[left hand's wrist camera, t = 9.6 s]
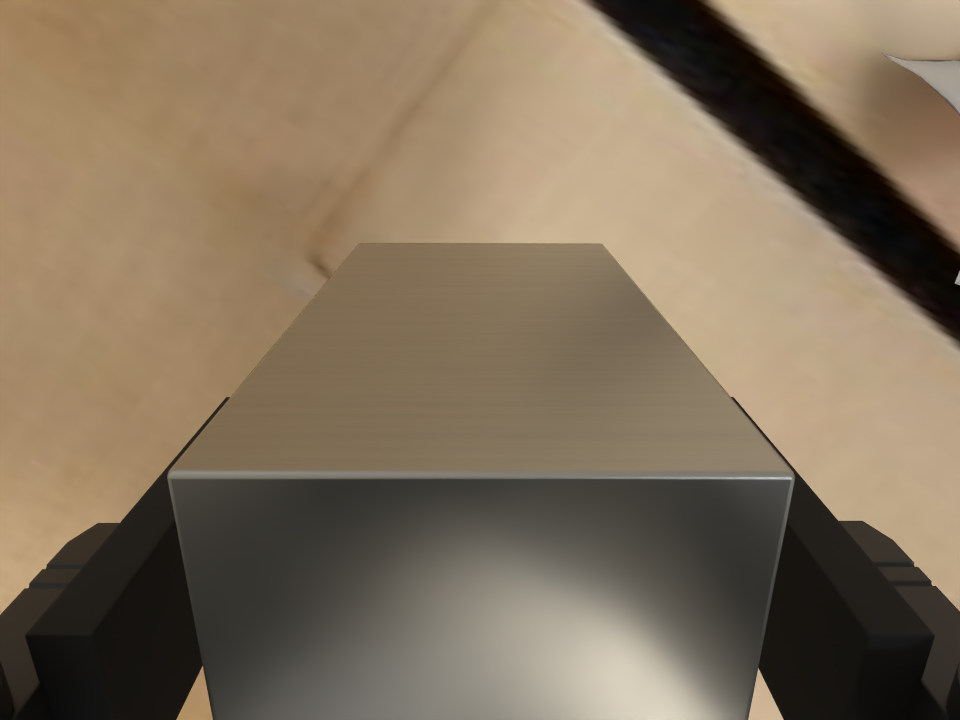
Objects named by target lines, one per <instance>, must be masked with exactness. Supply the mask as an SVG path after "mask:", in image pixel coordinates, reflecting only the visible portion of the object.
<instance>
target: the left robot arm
mask: <svg viewBox="0 0 960 720" xmlns="http://www.w3.org/2000/svg"><path fill="white" fill-rule="evenodd" d="M229 398H230V397H226V398H225V400H224V401H223V402H222V403H221V404H220V405H219V407H218V408H217V409H216V410H215V411H214V413H213V414H212V415H211V416H210V417H209V418H208V420H207V421H206V422H205V423H204V424H203V426H202V427H201V428H200V429H199V430H198V431H197V433H196V434H195V435H194V436H193V437H192V439H191V440H190V441H189V442H188V443H187V444H186V446H185V447H184V448H183V449H182V450H181V452H180V453H179V454H178V455H177V456H176V457H175V459H174V460H173V461H172V462H171V463H170V465H169V466H168V467H167V468H166V469H165V470H164V472H163V473H162V474H161V475H160V476H159V478H158V479H157V480H156V481H155V482H154V483H153V485H152V486H151V487H150V488H149V489H148V491H147V492H146V493H145V494H144V495H143V496H142V498H141V499H140V500H139V501H138V502H137V504H136V505H135V506H134V507H133V508H132V509H131V511H130V512H129V513H128V514H127V515H126V517H125V518H124V519H123V520H122V521H121V522H120V523H97V524H96V525H94V526H93V527H91V528H89V529H88V530H86V531H85V532H83V533H82V534H80V535H78V536H77V537H75V538H74V539H72V540H71V541H69V542H67V544H66V545H65V546H64V547H63V548H62V549H61V550H60V551H59V552H58V553H57V554H56V555H55V556H54V558H53V559H52V560H51V561H50V562H49V563H48V564H47V568H46V569H42V570H41V572H40V573H39V574H38V575H37V576H36V577H35V578H34V579H33V580H32V581H31V582H30V583H29V588H25V589H24V590H23V591H22V592H21V593H20V594H19V595H18V596H17V597H16V599H15V600H14V601H13V602H12V603H11V604H10V605H9V606H8V607H7V608H6V609H5V610H4V611H3V613H2V614H1V615H0V720H176V719H177V717H178V715H179V713H180V711H181V709H182V707H183V705H184V703H185V701H186V698H187V696H188V694H189V692H190V690H191V688H192V686H193V684H194V682H195V680H196V678H197V676H198V674H199V672H200V670H201V668H202V666H203V664H202V658H201V653H200V648H199V642H198V637H197V632H196V627H195V621H194V616H193V611H192V606H191V600H190V595H189V590H188V584H187V579H186V574H185V569H184V563H183V558H182V553H181V547H180V542H179V537H178V532H177V526H176V521H175V516H174V510H173V505H172V500H171V495H170V489H169V484H168V479H167V477H168V472H169V470H170V469H171V468H172V467H173V465H174V464H175V463H176V462H177V461H178V459H179V458H180V457H181V456H182V455H183V453H184V452H185V451H186V450H187V449H188V447H189V446H190V445H191V444H192V443H193V441H194V440H195V439H196V438H197V437H198V435H199V434H200V433H201V432H202V431H203V429H204V428H205V427H206V426H207V425H208V423H209V422H210V421H211V420H212V419H213V417H214V416H215V415H216V414H217V413H218V411H219V410H220V409H221V408H222V407H223V406H224V404H225V403H226V402H227V401H228V400H229ZM731 398H732V399H733V400H734V402H735V403H736V404H737V405H738V406H739V408H740V409H741V410H742V411H743V412H744V414H745V415H746V416H747V417H748V418H749V420H750V421H751V422H752V423H753V424H754V426H755V427H756V428H757V429H758V430H759V431H760V433H761V434H762V435H763V436H764V437H765V439H766V440H767V441H768V442H769V443H770V445H771V446H772V447H773V448H774V449H775V451H776V452H777V453H778V454H779V455H780V456H781V458H782V459H783V460H784V461H785V462H786V464H787V465H788V466H789V467H790V468H791V470H792V471H793V472H794V476H795V481H794V486H793V491H792V496H791V501H790V507H789V512H788V517H787V522H786V527H785V532H784V537H783V543H782V548H781V553H780V558H779V563H778V568H777V573H776V578H775V584H774V589H773V594H772V599H771V604H770V609H769V614H768V620H767V625H766V630H765V635H764V640H763V645H762V650H761V656H760V661H759V666H758V668H759V670H760V672H761V674H762V676H763V678H764V680H765V682H766V684H767V686H768V688H769V690H770V692H771V694H772V696H773V698H774V701H775V703H776V705H777V707H778V709H779V711H780V713H781V715H782V717H783V719H784V720H960V611H959V610H958V609H957V608H956V607H955V606H954V605H953V604H952V603H951V602H950V601H949V600H948V599H947V598H946V596H945V595H944V594H943V593H942V592H941V591H940V590H939V589H938V588H937V587H936V586H932V584H931V580H930V579H929V578H928V577H927V576H926V575H925V574H924V573H923V572H922V571H921V570H920V569H919V568H918V567H914V562H913V561H912V560H911V559H910V558H909V557H908V556H907V555H906V554H905V553H904V551H903V550H902V549H901V548H900V547H899V546H898V545H897V544H896V543H895V542H894V541H893V540H892V539H890V538H889V537H887V536H886V535H884V534H882V533H881V532H879V531H878V530H876V529H874V528H873V527H871V526H870V525H868V524H866V523H865V522H863V521H838V520H837V519H836V518H835V517H834V515H833V514H832V513H831V512H830V511H829V509H828V508H827V507H826V506H825V505H824V504H823V502H822V501H821V500H820V499H819V498H818V496H817V495H816V494H815V493H814V492H813V491H812V489H811V488H810V487H809V486H808V485H807V483H806V482H805V481H804V480H803V479H802V478H801V476H800V475H799V474H798V473H797V472H796V470H795V469H794V468H793V467H792V466H791V465H790V463H789V462H788V461H787V460H786V459H785V457H784V456H783V455H782V454H781V453H780V452H779V450H778V449H777V448H776V447H775V446H774V444H773V443H772V442H771V441H770V440H769V439H768V437H767V436H766V435H765V434H764V433H763V431H762V430H761V429H760V428H759V427H758V426H757V424H756V423H755V422H754V421H753V420H752V419H751V417H750V416H749V415H748V414H747V413H746V411H745V410H744V409H743V408H742V407H741V406H740V404H739V403H738V402H737V401H736V400H735V398H734V397H731Z"/></svg>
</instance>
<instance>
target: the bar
mask: <svg viewBox="0 0 960 720" xmlns="http://www.w3.org/2000/svg"><path fill="white" fill-rule="evenodd" d="M167 479H168V484H169V489H170V495H171V500H172V505H173V510H174V516H175V521H176V526H177V532H178V537H179V542H180V547H181V553H182V558H183V563H184V569H185V574H186V579H187V584H188V590H189V595H190V600H191V606H192V611H193V616H194V621H195V627H196V632H197V637H198V642H199V648H200V653H201V658H202V664H203V669H204V674H205V679H206V685H207V690H208V695H209V701H210V706H211V711H212V716H213V720H748V717H749V712H750V707H751V702H752V697H753V692H754V686H755V681H756V676H757V671H758V666H759V661H760V656H761V650H762V645H763V640H764V635H765V630H766V625H767V620H768V614H769V609H770V604H771V599H772V594H773V589H774V584H775V578H776V573H777V568H778V563H779V558H780V553H781V548H782V543H783V537H784V532H785V527H786V522H787V517H788V512H789V507H790V501H791V496H792V491H793V486H794V481H795V476H794V472H793V471H792V470H791V468H790V467H789V466H788V465H787V464H786V462H785V461H784V460H783V459H782V458H781V456H780V455H779V454H778V453H777V452H776V451H775V449H774V448H773V447H772V446H771V445H770V443H769V442H768V441H767V440H766V439H765V437H764V436H763V435H762V434H761V433H760V431H759V430H758V429H757V428H756V427H755V426H754V424H753V423H752V422H751V421H750V420H749V418H748V417H747V416H746V415H745V414H744V412H743V411H742V410H741V409H740V408H739V406H738V405H737V404H736V403H735V402H734V400H733V399H732V398H731V397H730V396H729V395H728V393H727V392H726V391H725V390H724V389H723V387H722V386H721V385H720V384H719V383H718V381H717V380H716V379H715V378H714V377H713V375H712V374H711V373H710V372H709V371H708V369H707V368H706V367H705V366H704V365H703V364H702V362H701V361H700V360H699V359H698V358H697V356H696V355H695V354H694V353H693V352H692V350H691V349H690V348H689V347H688V346H687V344H686V343H685V342H684V341H683V340H682V338H681V337H680V336H679V335H678V334H677V333H676V331H675V330H674V329H673V328H672V327H671V325H670V324H669V323H668V322H667V321H666V319H665V318H664V317H663V316H662V315H661V313H660V312H659V311H658V310H657V309H656V308H655V306H654V305H653V304H652V303H651V302H650V300H649V299H648V298H647V297H646V296H645V294H644V293H643V292H642V291H641V290H640V288H639V287H638V286H637V285H636V284H635V282H634V281H633V280H632V279H631V278H630V277H629V275H628V274H627V273H626V272H625V271H624V269H623V268H622V267H621V266H620V265H619V263H618V262H617V261H616V260H615V259H614V257H613V256H612V255H611V254H610V253H609V251H608V250H607V249H606V248H605V247H604V246H603V244H540V243H360V244H358V245H357V246H356V248H355V249H354V250H353V251H352V252H351V254H350V255H349V256H348V257H347V258H346V260H345V261H344V262H343V263H342V264H341V266H340V267H339V268H338V269H337V270H336V271H335V273H334V274H333V275H332V276H331V277H330V279H329V280H328V281H327V282H326V283H325V285H324V286H323V287H322V288H321V289H320V291H319V292H318V293H317V294H316V295H315V297H314V298H313V299H312V300H311V301H310V303H309V304H308V305H307V306H306V307H305V309H304V310H303V311H302V312H301V313H300V315H299V316H298V317H297V318H296V319H295V321H294V322H293V323H292V324H291V325H290V327H289V328H288V329H287V330H286V331H285V333H284V334H283V335H282V336H281V337H280V339H279V340H278V341H277V342H276V343H275V344H274V346H273V347H272V348H271V349H270V350H269V352H268V353H267V354H266V355H265V356H264V358H263V359H262V360H261V361H260V362H259V364H258V365H257V366H256V367H255V368H254V370H253V371H252V372H251V373H250V374H249V376H248V377H247V378H246V379H245V380H244V382H243V383H242V384H241V385H240V386H239V388H238V389H237V390H236V391H235V392H234V394H233V395H232V396H231V397H230V398H229V400H228V401H227V402H226V403H225V404H224V406H223V407H222V408H221V409H220V410H219V411H218V413H217V414H216V415H215V416H214V417H213V419H212V420H211V421H210V422H209V423H208V425H207V426H206V427H205V428H204V429H203V431H202V432H201V433H200V434H199V435H198V437H197V438H196V439H195V440H194V441H193V443H192V444H191V445H190V446H189V447H188V449H187V450H186V451H185V452H184V453H183V455H182V456H181V457H180V458H179V459H178V461H177V462H176V463H175V464H174V465H173V467H172V468H171V469H170V470H169V472H168V477H167Z"/></svg>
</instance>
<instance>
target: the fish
mask: <svg viewBox="0 0 960 720" xmlns="http://www.w3.org/2000/svg"><path fill="white" fill-rule="evenodd" d="M882 54H883V53H882ZM883 55H885V57H887V58H888V59H890V60H892V61H894V62H895V63H897V64H899V65H901V66H902V67H904V68H906V69H908V70H909V71H911V72H913V73H915V74H917V75H918V76H920V77H922V78H923V79H924V80H925V81H926V82H927V83H928V84H929V85H930V86H931V87H932V88H933V89H935V90H936V91H937V92H938V93H939V94H940V95H941V96H942V97H943V98H944V99H945V100H946V101H947V102H948V103H949V104H950V105H951V106H952V107H953V108H954V109H955V110H956V111H957V112H958V113H959V114H960V60H902V59H899V58H896V57H893V56H890V55H886V54H883ZM955 284H958V285H960V272H959V274H958V277H957V279H956V282H955Z"/></svg>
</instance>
